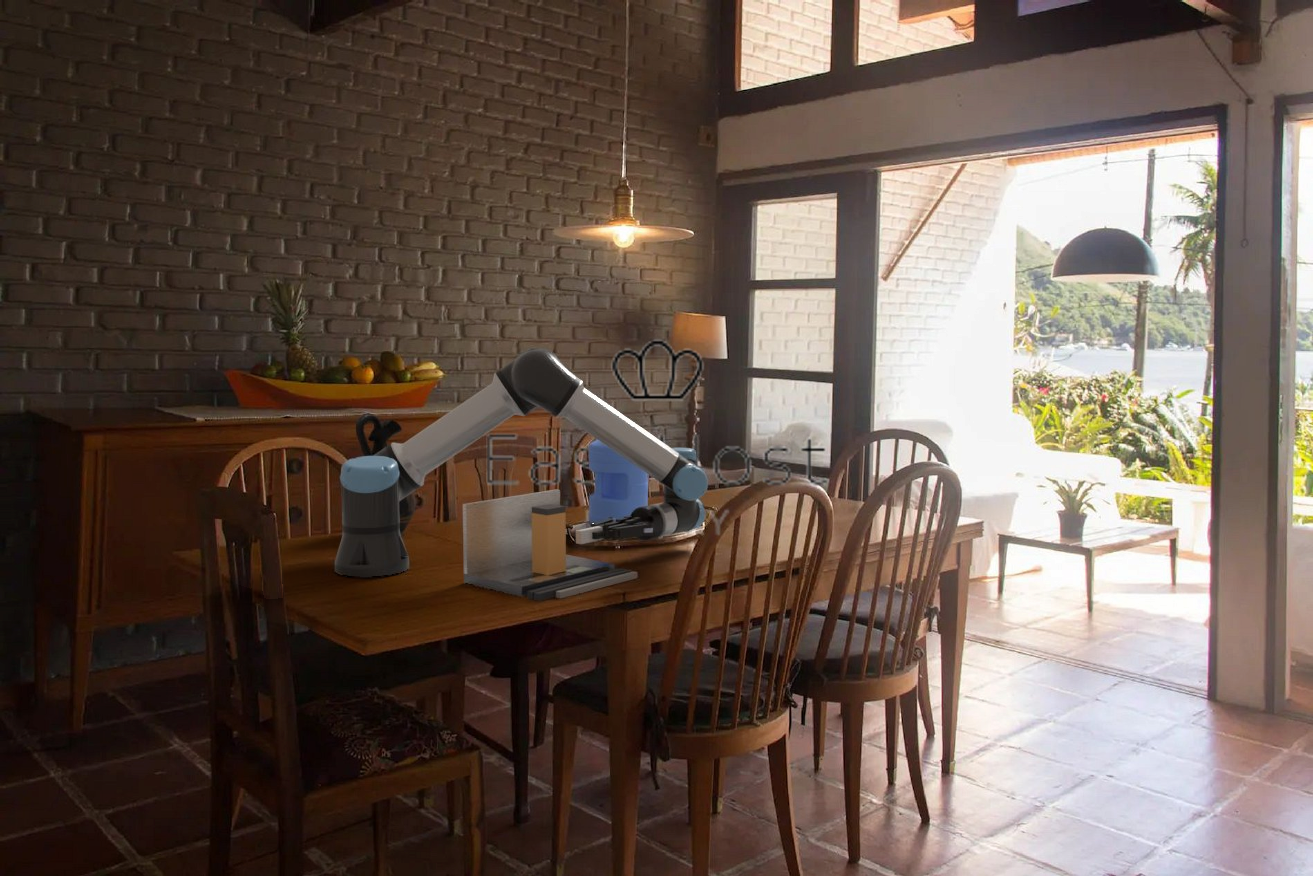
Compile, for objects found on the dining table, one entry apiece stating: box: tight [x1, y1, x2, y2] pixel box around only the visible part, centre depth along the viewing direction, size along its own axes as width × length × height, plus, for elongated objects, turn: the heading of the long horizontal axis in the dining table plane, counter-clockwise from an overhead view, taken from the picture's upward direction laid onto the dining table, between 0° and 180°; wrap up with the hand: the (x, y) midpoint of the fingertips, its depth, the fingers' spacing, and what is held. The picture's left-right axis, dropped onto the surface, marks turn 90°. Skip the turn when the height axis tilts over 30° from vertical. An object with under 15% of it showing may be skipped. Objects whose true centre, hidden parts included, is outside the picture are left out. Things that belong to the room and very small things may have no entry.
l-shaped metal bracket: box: [462, 488, 616, 598], centre depth 216 cm, size 26×17×16 cm, turn 140°
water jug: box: [588, 439, 649, 524], centre depth 277 cm, size 16×16×28 cm
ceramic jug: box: [355, 413, 416, 537], centre depth 259 cm, size 17×15×30 cm
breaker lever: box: [532, 504, 567, 575], centre depth 212 cm, size 5×4×13 cm
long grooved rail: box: [526, 567, 638, 602], centre depth 208 cm, size 26×5×1 cm, turn 140°
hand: (578, 537), depth 219 cm, fingers closed
